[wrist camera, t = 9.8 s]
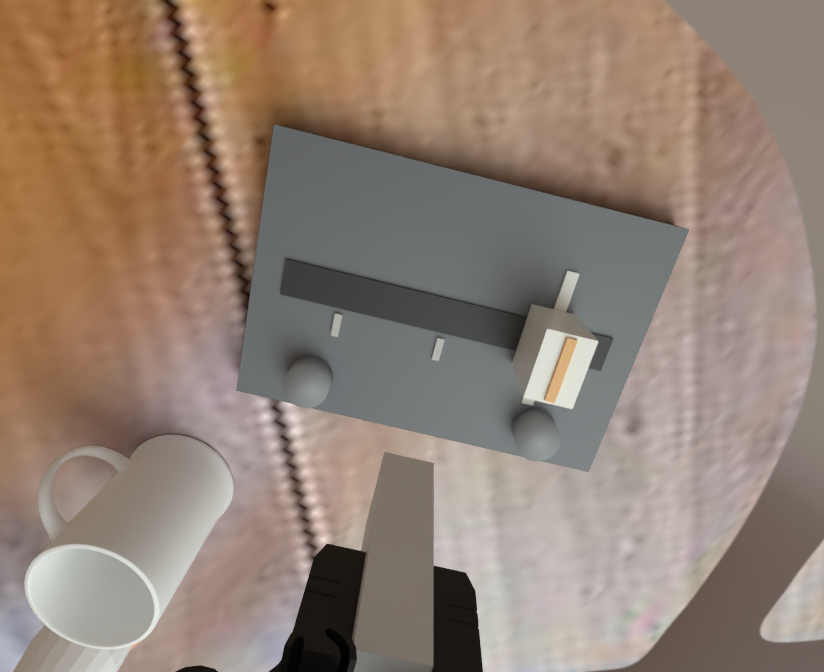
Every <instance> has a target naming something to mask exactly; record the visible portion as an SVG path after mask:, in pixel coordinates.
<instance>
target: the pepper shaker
mask: <svg viewBox="0 0 824 672" xmlns="http://www.w3.org/2000/svg"><path fill="white" fill-rule="evenodd" d="M139 643H140V641H139V642H138V643H136V644H133V645H131V646H128V647H124V648H119V649H96V648H90V647H86V646H82V645H79V644H76V643H73V642H71V641H69V640H67V639H65V638H63V637H61V636H59V635H58V634H56V633H55V632H53V631H52V630H51V629H49V628H48V627H47V626H46V625H45V626H44V627H43V628H42V629H41V630H40V631H39V633H38V634H37V635H36V636H35V637H34V638H33V640H32V641H31V643H30V645H29V646H28V648H27V650H26V651H25V653H24V655H23V656H22V658H21V660H20V661H19V663H18V665H17V666H16V668H15V669H14V671H13V672H117V671H118V669H119V668H120V666H121V664H122V662H123V661H124V659H125V657H126V655H127V654H128V652H129V651H130V650H131V649H132V648H134V647H135V646H136V645H138V644H139Z"/></svg>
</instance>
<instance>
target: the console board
mask: <svg viewBox="0 0 824 672" xmlns="http://www.w3.org/2000/svg"><path fill="white" fill-rule="evenodd" d="M688 231H689V230H688V229H685V228H682V227H679V226H676V225H672V224H668V223H664V222H661V221H657V220H653V219H649V218H645V217H641V216H637V215H633V214H629V213H625V212H621V211H617V210H613V209H609V208H605V207H601V206H598V205H594V204H590V203H586V202H582V201H578V200H574V199H570V198H566V197H562V196H558V195H554V194H550V193H546V192H542V191H538V190H534V189H531V188H527V187H523V186H519V185H515V184H511V183H507V182H503V181H499V180H495V179H491V178H487V177H483V176H479V175H475V174H471V173H467V172H464V171H460V170H456V169H452V168H448V167H444V166H440V165H436V164H432V163H428V162H424V161H420V160H416V159H412V158H408V157H404V156H400V155H397V154H393V153H389V152H385V151H381V150H377V149H373V148H369V147H365V146H361V145H357V144H353V143H349V142H345V141H341V140H337V139H333V138H330V137H326V136H322V135H318V134H314V133H310V132H306V131H302V130H298V129H294V128H290V127H286V126H282V125H275V124H274V127H273V134H272V141H271V148H270V155H269V163H268V170H267V177H266V184H265V191H264V198H263V205H262V213H261V220H260V227H259V234H258V241H257V248H256V255H255V263H254V270H253V277H252V284H251V291H250V298H249V305H248V313H247V320H246V327H245V334H244V341H243V348H242V355H241V362H240V370H239V377H238V384H237V391H240V392H245V393H249V394H253V395H258V396H262V397H266V398H271V399H275V400H279V401H284V402H288V403H292V404H294V405H296V406H299V407H303V408H314V409H318V410H323V411H327V412H331V413H336V414H340V415H344V416H349V417H353V418H357V419H362V420H366V421H370V422H375V423H379V424H383V425H388V426H392V427H396V428H400V429H405V430H409V431H413V432H418V433H422V434H426V435H431V436H435V437H439V438H444V439H448V440H452V441H457V442H461V443H465V444H470V445H474V446H478V447H483V448H487V449H491V450H496V451H500V452H504V453H509V454H513V455H517V456H522V457H524V458H526V459H528V460H532V461H543V462H548V463H552V464H556V465H560V466H565V467H569V468H573V469H578V470H582V471H586V472H589V470H590V467H591V465H592V462H593V460H594V458H595V455H596V453H597V450H598V448H599V446H600V443H601V441H602V438H603V436H604V434H605V431H606V429H607V426H608V424H609V422H610V419H611V417H612V414H613V412H614V409H615V407H616V405H617V402H618V400H619V397H620V395H621V393H622V390H623V388H624V385H625V383H626V381H627V378H628V376H629V373H630V371H631V368H632V366H633V364H634V361H635V359H636V356H637V354H638V352H639V349H640V347H641V344H642V342H643V340H644V337H645V335H646V332H647V330H648V328H649V325H650V323H651V320H652V318H653V315H654V313H655V311H656V308H657V306H658V303H659V301H660V299H661V296H662V294H663V291H664V289H665V287H666V284H667V282H668V279H669V277H670V274H671V272H672V270H673V267H674V265H675V262H676V260H677V258H678V255H679V253H680V250H681V248H682V246H683V243H684V241H685V238H686V236H687V234H688ZM531 304H534V305H538V306H542V307H546V308H551V309H555V310H559V311H563V312H567V313H571V314H575V315H577V316H578V317H579V319H580V320H581V321H582V322H583V323H584V325H585V326H586V327H587V328H588V329H589V330H590V332H591V333H592V334H593V335H594V336H595V337H596V339H597V340H598V341H599V342H598V344H597V347H596V349H595V352H594V355H593V357H592V360H591V362H590V365H589V368H588V370H587V373H586V375H585V378H584V381H583V383H582V386H581V388H580V391H579V394H578V396H577V399H576V401H575V404H574V407H573V409H569V408H565V407H560V406H556V405H552V404H548V403H544V402H539V401H535V400H531V399H527V398H523V395H522V393H521V390H520V387H519V384H518V381H517V379H516V376H515V373H514V370H513V368H512V362H513V359H514V356H515V353H516V350H517V347H518V344H519V341H520V338H521V335H522V332H523V329H524V326H525V323H526V320H527V316H528V313H529V310H530V307H531Z"/></svg>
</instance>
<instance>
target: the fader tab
mask: <svg viewBox="0 0 824 672" xmlns="http://www.w3.org/2000/svg"><path fill="white" fill-rule="evenodd" d="M598 342H599V341H598V340H597V339H596V337H595V336H594V335H593V334H592V333H591V332H590V330H589V329H588V328H587V327H586V326H585V325H584V323H583V322H582V321H581V320H580V319H579V317H578V316H577V315H575V314H571V313H567V312H563V311H559V310H555V309H551V308H546V307H542V306H538V305H534V304H531V307H530V310H529V313H528V316H527V320H526V323H525V326H524V329H523V332H522V335H521V338H520V341H519V344H518V347H517V350H516V353H515V356H514V359H513V362H512V368H513V370H514V373H515V376H516V379H517V381H518V384H519V387H520V390H521V393H522V395H523V398H527V399H531V400H535V401H539V402H544V403H548V404H552V405H556V406H560V407H565V408H569V409H573V407H574V404H575V401H576V399H577V396H578V394H579V391H580V388H581V386H582V383H583V381H584V378H585V375H586V373H587V370H588V368H589V365H590V362H591V360H592V357H593V355H594V352H595V349H596V347H597V344H598Z"/></svg>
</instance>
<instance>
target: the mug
mask: <svg viewBox="0 0 824 672" xmlns="http://www.w3.org/2000/svg"><path fill="white" fill-rule="evenodd" d="M76 456H92V457H96V458H99V459H102V460H104V461H106V462H108V463H109V464H111V465H112V466H113V467H114V468H115V469H116V471H117V472H118V473H117V474H116V475H115V476H114V477H113V478H112V479H111V480H110V481H109V482H108V483H107V484H106V485H105V486H104V487H103V488H102V489H101V490H100V492H99V493H98V494H97V495H96V496H95V497H94V498H93V499H92V500H91V501H90V502H89V503H88V504H87V505H86V506H85V507H84V508H83V509H82V510H81V511H80V512H79V513H78V514H77V515H76V516H75V517H74V518H73V519H72V520H71V521H70V522H69V523H66V522H65V521H64V520H63V518H62V517H61V516H60V514H59V513H58V511H57V509H56V506H55V503H54V499H53V491H52V488H53V480H54V477H55V474H56V472H57V470H58V468H59V467H60V466H61V464H62V463H63V462H65V461H66V460H68V459H70V458H72V457H76ZM233 490H234V485H233V479H232V475H231V472H230V470H229V468H228V466H227V464H226V463H225V461H224V460H223V459H222V457H221V456H220V455H219V454H218V453H217V452H216V451H215V450H213V449H212V448H211V447H209V446H208V445H206V444H205V443H203V442H201V441H199V440H196V439H194V438H191V437H187V436H182V435H162V436H157V437H154V438H152V439H149V440H147V441H146V442H144V443H142V444H141V445H140V446H139V447H138V448H137V449H136V450H135V451H134V452H133V454H132V455H131V457H130V459H128V458H127V457H125V456H123V455H122V454H120V453H118V452H116V451H114V450H111V449H109V448H105V447H101V446H82V447H77V448H74V449H71V450H69V451H67V452H65V453H63V454H62V455H60V456H59V457H58V458H56V459H55V460H54V461H53V462H52V463H51V464H50V466H49V467H48V468H47V470H46V471H45V473H44V475H43V477H42V479H41V482H40V486H39V490H38V508H39V513H40V517H41V520H42V523H43V525H44V527H45V529H46V531H47V533H48V535H49V538H50V543H49V544H48V545H47V546H46V547H45V548H44V549H43V550H42V551H41V552H40V553H39V554H38V555H37V556H36V558H35V559H34V560H33V561H32V562H31V564H30V565H29V567H28V569H27V572H26V575H25V580H24V588H25V594H26V598H27V600H28V603H29V605H30V607H31V609H32V610H33V612H34V613H35V614H36V616H37V617H38V618H39V619H40V620H41V621H42V622H43V623H44V624H45V625H46V626H47V627H48V628H49V629H51V630H52V631H53V632H55V633H56V634H58V635H59V636H61V637H63V638H65V639H67V640H69V641H71V642H73V643H76V644H79V645H82V646H86V647H90V648H96V649H119V648H124V647H128V646H131V645H133V644H136V643H138V642H139V641H141V640H143V639H144V638H145V637H147V636H148V635H149V634H150V633H151V631H152V630H153V629H154V627H155V626H156V624H157V622H158V621H159V619H160V617H161V615H162V614H163V612H164V610H165V609H166V607H167V605H168V603H169V602H170V600H171V598H172V596H173V595H174V593H175V591H176V590H177V588H178V586H179V584H180V583H181V581H182V579H183V578H184V576H185V574H186V572H187V571H188V569H189V567H190V566H191V564H192V562H193V560H194V559H195V557H196V555H197V554H198V552H199V550H200V548H201V547H202V545H203V543H204V541H205V540H206V538H207V536H208V535H209V533H210V531H211V529H212V528H213V526H214V524H215V523H216V521H217V520H218V518H219V517H220V516H221V515H222V514H223V513H224V512H225V511H226V509H227V508H228V506H229V505H230V502H231V500H232V497H233Z"/></svg>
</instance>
